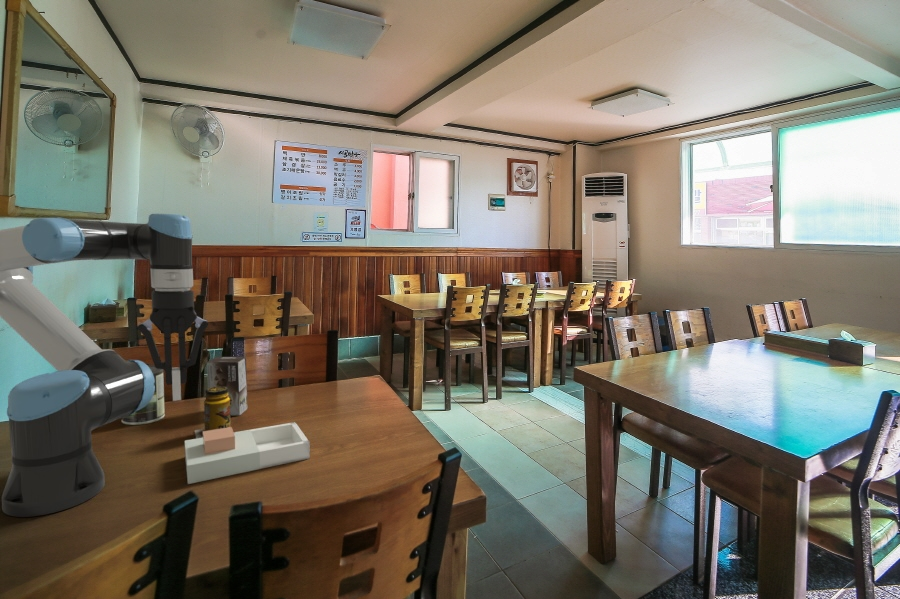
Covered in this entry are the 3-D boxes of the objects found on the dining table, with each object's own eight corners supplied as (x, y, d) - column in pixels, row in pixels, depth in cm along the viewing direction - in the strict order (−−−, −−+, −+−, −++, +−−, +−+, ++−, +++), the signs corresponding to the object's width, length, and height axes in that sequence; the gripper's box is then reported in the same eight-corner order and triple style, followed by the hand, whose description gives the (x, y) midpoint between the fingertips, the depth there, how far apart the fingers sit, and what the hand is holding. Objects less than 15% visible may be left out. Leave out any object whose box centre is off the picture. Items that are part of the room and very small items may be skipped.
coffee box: (248, 408, 139) (247, 356, 137) (239, 416, 133) (238, 361, 131) (217, 408, 139) (216, 355, 137) (207, 415, 132) (206, 361, 130)
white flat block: (187, 484, 95) (187, 465, 94) (185, 457, 107) (184, 440, 106) (259, 468, 102) (259, 451, 102) (250, 445, 114) (249, 429, 114)
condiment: (233, 435, 120) (233, 390, 118) (197, 441, 115) (195, 395, 114) (229, 425, 126) (228, 383, 124) (194, 431, 121) (193, 387, 120)
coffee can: (140, 427, 122) (138, 376, 121) (112, 422, 125) (109, 371, 124) (174, 414, 132) (172, 367, 131) (147, 409, 135) (145, 363, 134)
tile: (204, 454, 100) (204, 441, 99) (203, 444, 105) (202, 431, 104) (235, 448, 103) (234, 436, 102) (231, 439, 108) (231, 426, 108)
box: (259, 468, 102) (259, 451, 102) (250, 445, 114) (249, 429, 114) (309, 458, 108) (309, 442, 108) (295, 436, 120) (295, 422, 119)
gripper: (134, 291, 89) (139, 408, 92) (209, 290, 96) (212, 399, 98) (136, 288, 95) (141, 398, 98) (206, 287, 102) (209, 389, 105)
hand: (176, 398), depth 98 cm, fingers closed
